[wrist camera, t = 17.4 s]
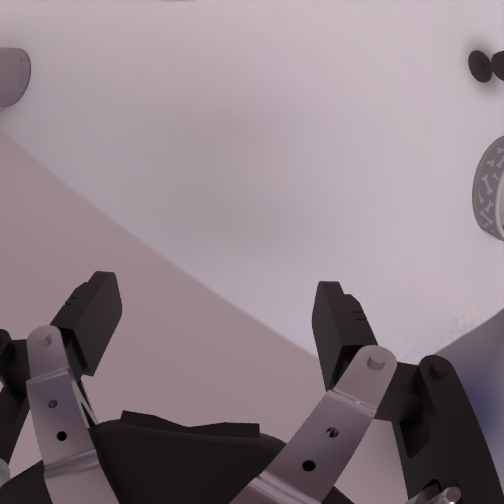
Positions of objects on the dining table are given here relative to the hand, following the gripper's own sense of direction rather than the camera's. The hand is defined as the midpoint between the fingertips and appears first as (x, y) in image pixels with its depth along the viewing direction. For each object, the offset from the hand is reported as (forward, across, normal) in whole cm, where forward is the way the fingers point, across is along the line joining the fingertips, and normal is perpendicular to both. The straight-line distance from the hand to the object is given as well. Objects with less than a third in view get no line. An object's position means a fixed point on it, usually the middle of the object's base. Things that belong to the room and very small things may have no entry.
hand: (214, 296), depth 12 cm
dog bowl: (+28, +44, +1) cm, 52 cm away
